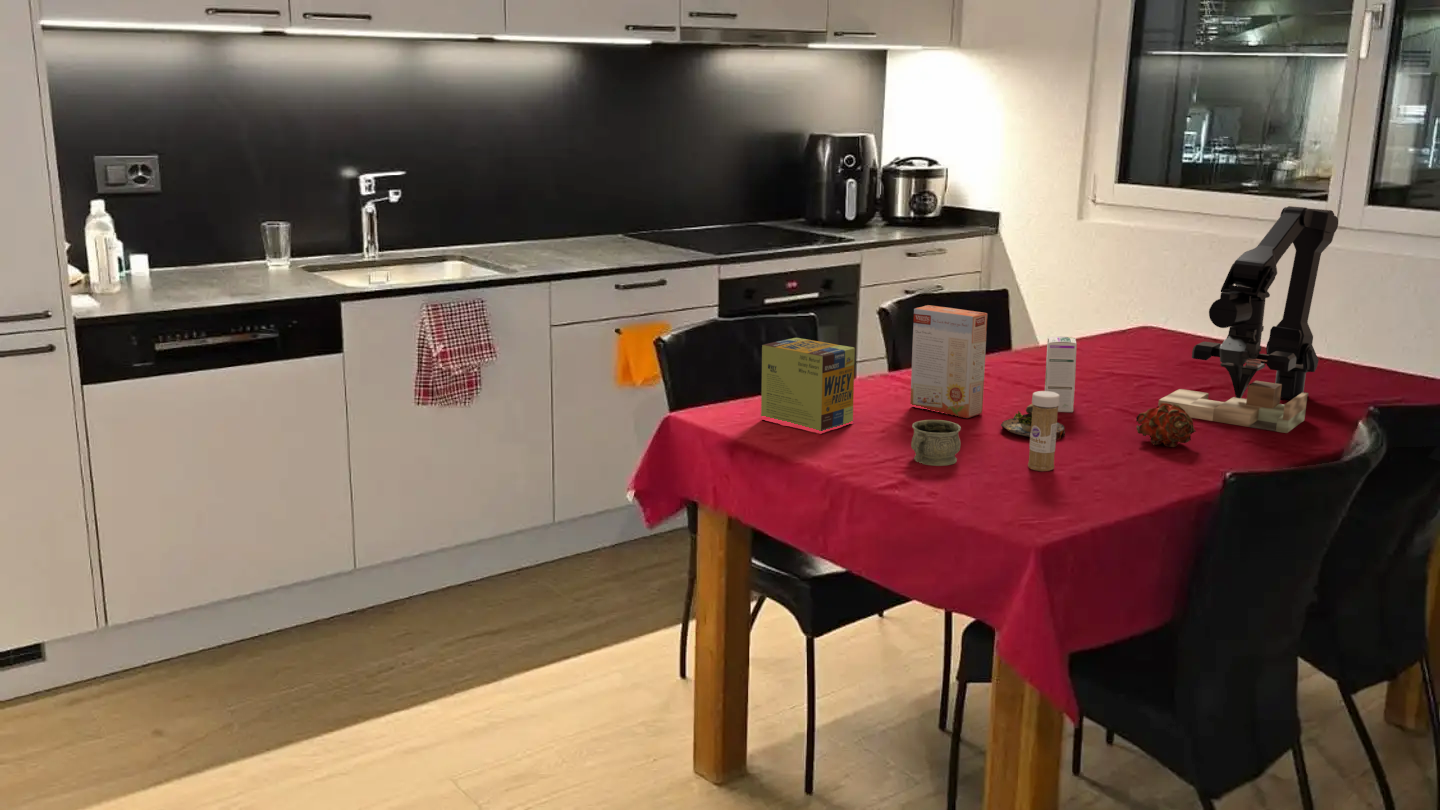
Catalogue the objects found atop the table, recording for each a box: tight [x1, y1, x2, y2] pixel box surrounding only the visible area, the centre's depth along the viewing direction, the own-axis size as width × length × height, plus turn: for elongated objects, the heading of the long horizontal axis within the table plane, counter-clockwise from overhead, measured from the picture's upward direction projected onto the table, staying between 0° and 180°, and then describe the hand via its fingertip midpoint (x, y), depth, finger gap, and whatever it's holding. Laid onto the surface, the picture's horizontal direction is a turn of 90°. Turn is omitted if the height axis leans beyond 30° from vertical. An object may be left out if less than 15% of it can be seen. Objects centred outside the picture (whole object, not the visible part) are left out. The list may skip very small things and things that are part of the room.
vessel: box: [910, 419, 962, 467], centre depth 228 cm, size 12×9×6 cm
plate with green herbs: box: [1000, 403, 1066, 441], centre depth 244 cm, size 12×12×8 cm
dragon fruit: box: [1135, 402, 1197, 448], centre depth 237 cm, size 8×8×12 cm
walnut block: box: [1246, 380, 1282, 408], centre depth 256 cm, size 5×5×4 cm
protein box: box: [760, 337, 856, 431], centre depth 250 cm, size 10×15×16 cm
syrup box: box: [1044, 336, 1078, 413], centre depth 261 cm, size 6×6×14 cm
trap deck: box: [1157, 388, 1309, 434], centre depth 256 cm, size 12×25×6 cm, turn 51°
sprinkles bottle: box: [1027, 390, 1060, 472], centre depth 222 cm, size 5×5×13 cm
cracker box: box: [909, 304, 988, 419], centre depth 258 cm, size 14×6×21 cm, turn 47°
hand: (1238, 397), depth 258 cm, fingers closed
